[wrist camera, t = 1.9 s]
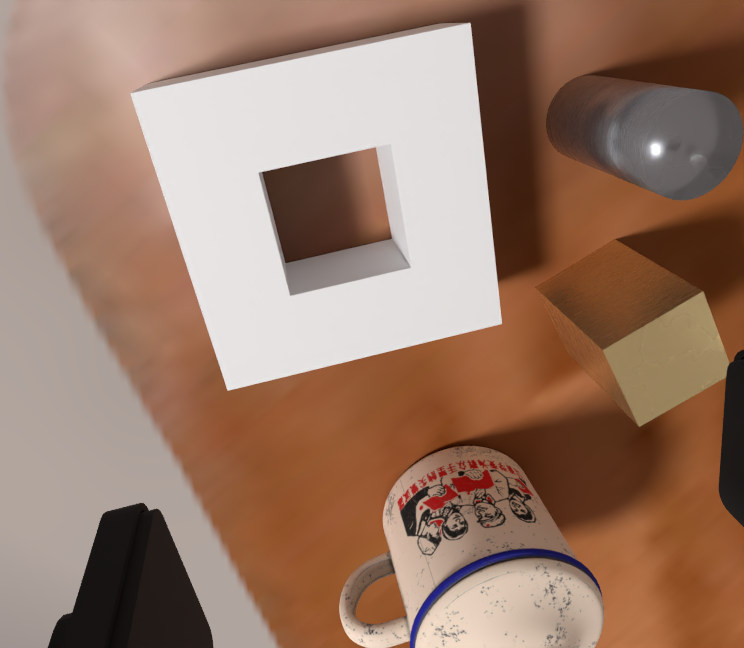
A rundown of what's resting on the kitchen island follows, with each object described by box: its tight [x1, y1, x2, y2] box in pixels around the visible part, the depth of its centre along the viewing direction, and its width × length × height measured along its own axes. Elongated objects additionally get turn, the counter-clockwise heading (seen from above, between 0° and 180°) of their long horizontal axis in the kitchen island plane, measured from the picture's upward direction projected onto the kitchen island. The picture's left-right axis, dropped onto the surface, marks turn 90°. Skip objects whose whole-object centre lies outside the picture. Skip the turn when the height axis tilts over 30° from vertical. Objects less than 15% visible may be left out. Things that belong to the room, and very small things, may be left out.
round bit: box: [546, 75, 743, 200], centre depth 26 cm, size 4×4×8 cm
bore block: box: [130, 23, 502, 390], centre depth 27 cm, size 12×12×4 cm
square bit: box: [535, 239, 729, 427], centre depth 30 cm, size 4×4×7 cm
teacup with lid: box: [339, 446, 604, 648], centre depth 32 cm, size 12×9×12 cm
